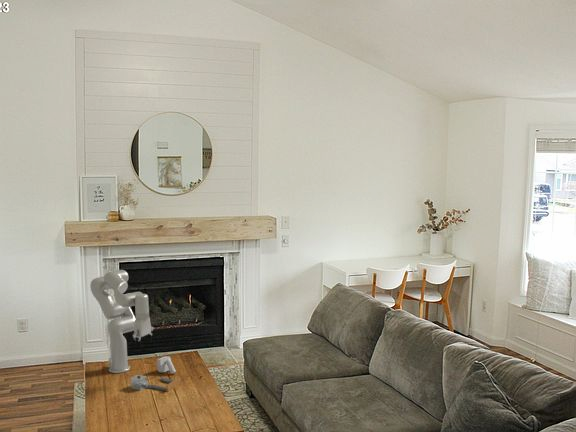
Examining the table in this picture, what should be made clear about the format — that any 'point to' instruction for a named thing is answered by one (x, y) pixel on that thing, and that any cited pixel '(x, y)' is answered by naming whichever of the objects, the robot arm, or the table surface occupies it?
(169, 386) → the receiver
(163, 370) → the white jointed piece
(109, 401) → the table surface
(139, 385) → the block
